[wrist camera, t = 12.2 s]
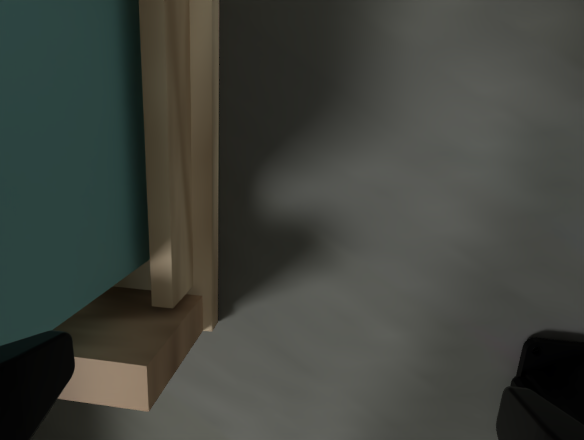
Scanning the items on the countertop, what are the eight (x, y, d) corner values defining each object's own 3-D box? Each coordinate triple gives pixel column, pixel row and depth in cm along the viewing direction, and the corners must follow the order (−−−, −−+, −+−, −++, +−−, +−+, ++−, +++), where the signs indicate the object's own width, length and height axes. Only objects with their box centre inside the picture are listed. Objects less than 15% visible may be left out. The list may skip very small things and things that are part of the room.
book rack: (219, -105, 17) (135, -256, 10) (217, 322, 22) (161, 413, 15) (3, -103, 18) (-205, -239, 11) (50, 302, 23) (-73, 380, 16)
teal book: (145, -8, 17) (-113, -173, 7) (156, 254, 20) (-17, 379, 10) (59, -10, 17) (-291, -167, 8) (83, 247, 20) (-148, 361, 11)
